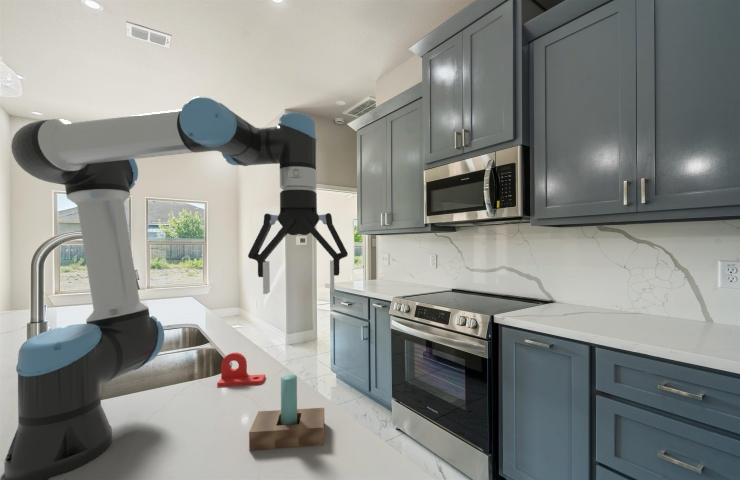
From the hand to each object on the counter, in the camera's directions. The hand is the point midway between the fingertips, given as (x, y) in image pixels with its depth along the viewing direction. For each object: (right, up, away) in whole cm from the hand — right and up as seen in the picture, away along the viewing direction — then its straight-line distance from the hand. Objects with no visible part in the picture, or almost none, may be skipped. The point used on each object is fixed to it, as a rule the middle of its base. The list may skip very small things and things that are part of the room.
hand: (299, 292), depth 72 cm
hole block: (-2, -29, -2) cm, 29 cm away
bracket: (-22, -30, +25) cm, 45 cm away
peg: (-2, -29, -2) cm, 29 cm away
